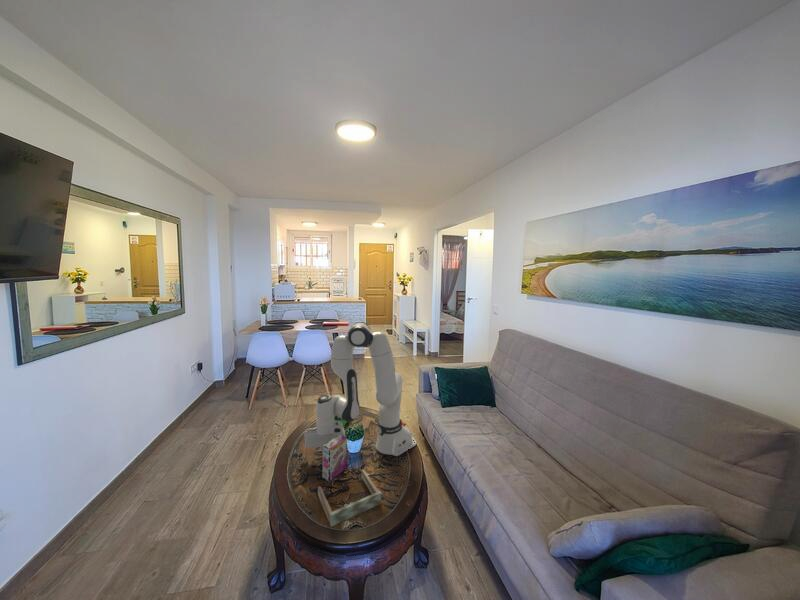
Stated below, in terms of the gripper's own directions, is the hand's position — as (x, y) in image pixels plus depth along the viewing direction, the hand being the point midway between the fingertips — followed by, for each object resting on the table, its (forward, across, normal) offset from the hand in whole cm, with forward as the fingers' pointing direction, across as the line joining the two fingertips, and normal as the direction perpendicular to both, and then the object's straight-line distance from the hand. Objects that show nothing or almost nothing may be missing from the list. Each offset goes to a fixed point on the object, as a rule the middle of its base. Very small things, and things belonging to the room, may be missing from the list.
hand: (325, 452), depth 151 cm
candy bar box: (+2, +4, -13) cm, 14 cm away
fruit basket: (+2, +9, +30) cm, 31 cm away
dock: (+2, +10, -29) cm, 31 cm away
